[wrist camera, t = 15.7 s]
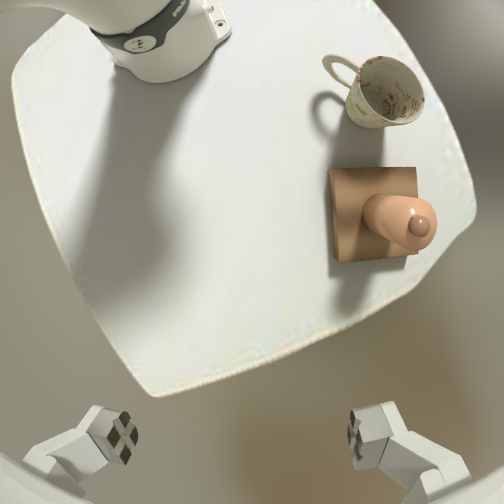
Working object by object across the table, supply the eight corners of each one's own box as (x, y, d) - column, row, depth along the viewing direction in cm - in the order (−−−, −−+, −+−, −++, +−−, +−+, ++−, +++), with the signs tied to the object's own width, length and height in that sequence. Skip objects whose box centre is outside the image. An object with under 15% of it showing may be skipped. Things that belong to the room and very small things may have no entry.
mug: (374, 148, 34) (406, 139, 25) (299, 94, 33) (309, 67, 24) (400, 107, 32) (434, 89, 23) (329, 55, 31) (346, 22, 22)
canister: (360, 194, 33) (398, 200, 22) (396, 192, 33) (442, 198, 22) (363, 234, 34) (399, 256, 23) (398, 231, 34) (442, 251, 23)
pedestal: (328, 170, 36) (333, 169, 33) (406, 167, 35) (415, 167, 32) (334, 257, 38) (339, 263, 35) (409, 249, 37) (418, 254, 34)
